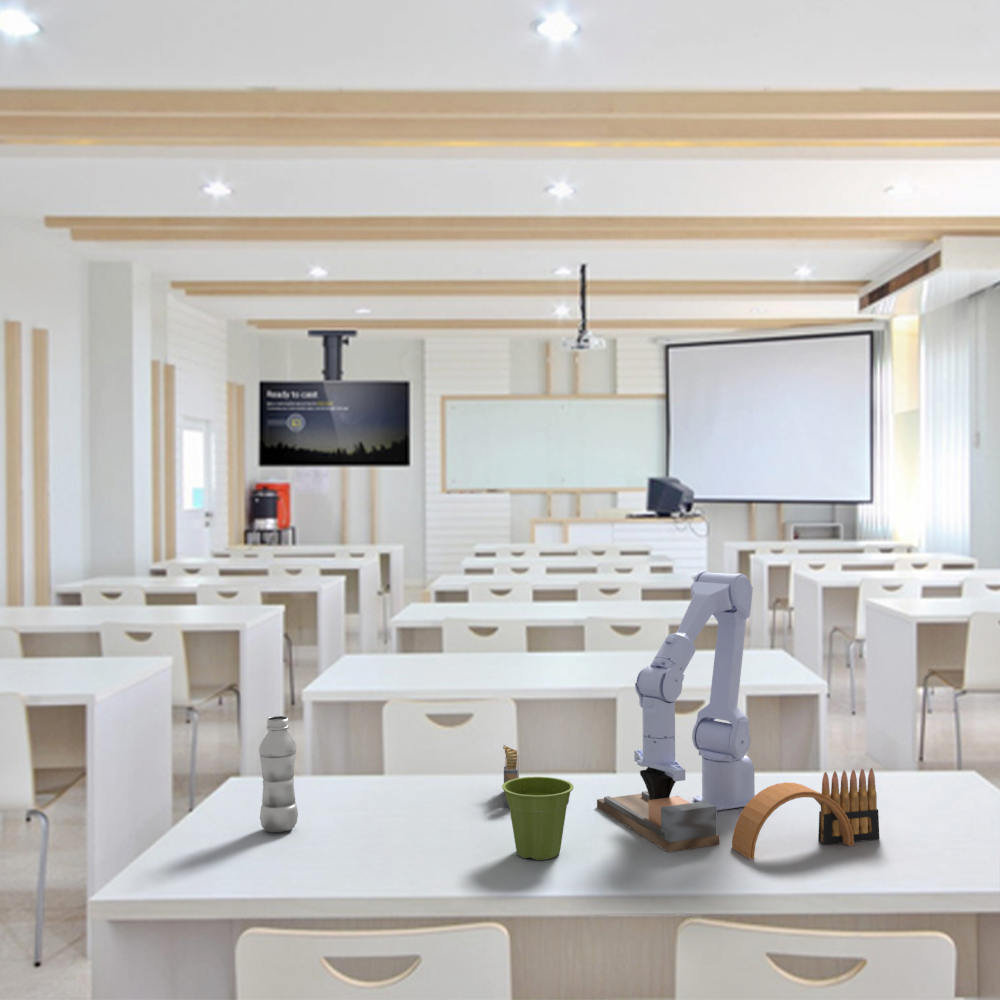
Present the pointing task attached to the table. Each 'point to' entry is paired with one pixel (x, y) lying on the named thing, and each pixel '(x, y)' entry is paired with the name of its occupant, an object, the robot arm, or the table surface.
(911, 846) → the table surface
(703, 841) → the keeper track
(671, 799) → the block
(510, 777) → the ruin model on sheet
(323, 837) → the table surface
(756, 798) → the arch
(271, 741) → the plastic bottle
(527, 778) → the plant pot
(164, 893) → the table surface
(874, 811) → the ammunition clip
